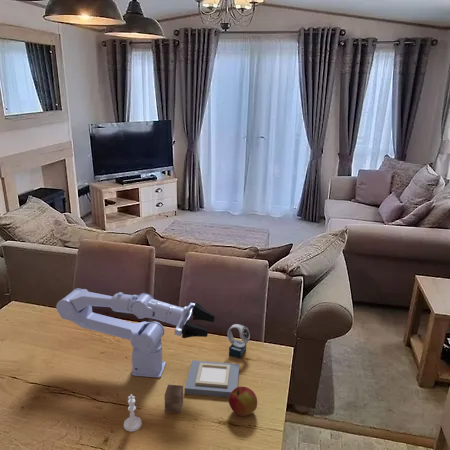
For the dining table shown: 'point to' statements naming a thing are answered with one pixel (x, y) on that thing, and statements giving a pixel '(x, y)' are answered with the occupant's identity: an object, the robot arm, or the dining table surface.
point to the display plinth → (212, 378)
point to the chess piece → (132, 416)
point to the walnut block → (174, 398)
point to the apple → (243, 401)
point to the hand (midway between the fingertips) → (211, 326)
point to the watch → (237, 346)
